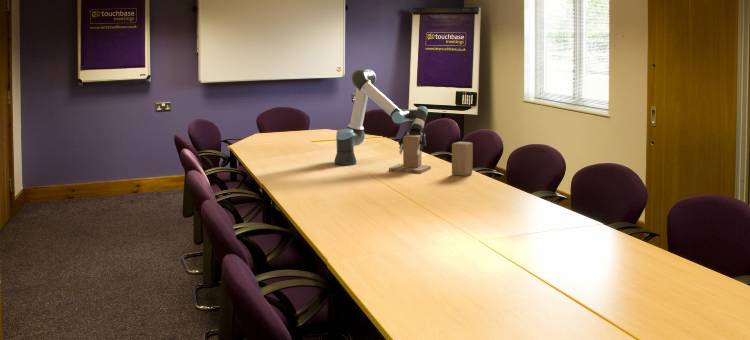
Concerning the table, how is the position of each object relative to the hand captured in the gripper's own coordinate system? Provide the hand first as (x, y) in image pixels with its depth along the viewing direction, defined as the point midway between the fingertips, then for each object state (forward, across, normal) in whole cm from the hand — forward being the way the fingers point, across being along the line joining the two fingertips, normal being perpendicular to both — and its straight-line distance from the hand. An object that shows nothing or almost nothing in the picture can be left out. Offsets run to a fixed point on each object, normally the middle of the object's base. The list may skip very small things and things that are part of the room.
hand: (408, 153), depth 451 cm
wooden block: (+2, 0, -11) cm, 11 cm away
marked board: (+6, 0, -10) cm, 11 cm away
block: (+9, -36, -8) cm, 37 cm away
